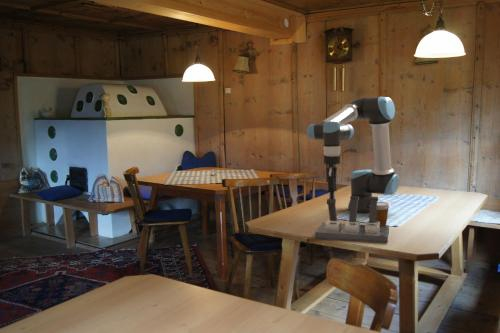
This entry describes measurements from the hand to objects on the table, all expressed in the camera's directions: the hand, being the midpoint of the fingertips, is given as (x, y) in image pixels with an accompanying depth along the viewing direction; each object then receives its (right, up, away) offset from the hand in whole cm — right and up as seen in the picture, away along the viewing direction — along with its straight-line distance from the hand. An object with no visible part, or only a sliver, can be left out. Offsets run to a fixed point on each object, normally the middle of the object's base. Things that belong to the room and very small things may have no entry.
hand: (332, 205), depth 221 cm
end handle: (+18, -7, -2) cm, 20 cm away
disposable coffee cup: (+26, -12, +14) cm, 32 cm away
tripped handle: (+1, -7, +4) cm, 8 cm away
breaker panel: (+10, -14, +2) cm, 17 cm away
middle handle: (+10, -7, +1) cm, 12 cm away
